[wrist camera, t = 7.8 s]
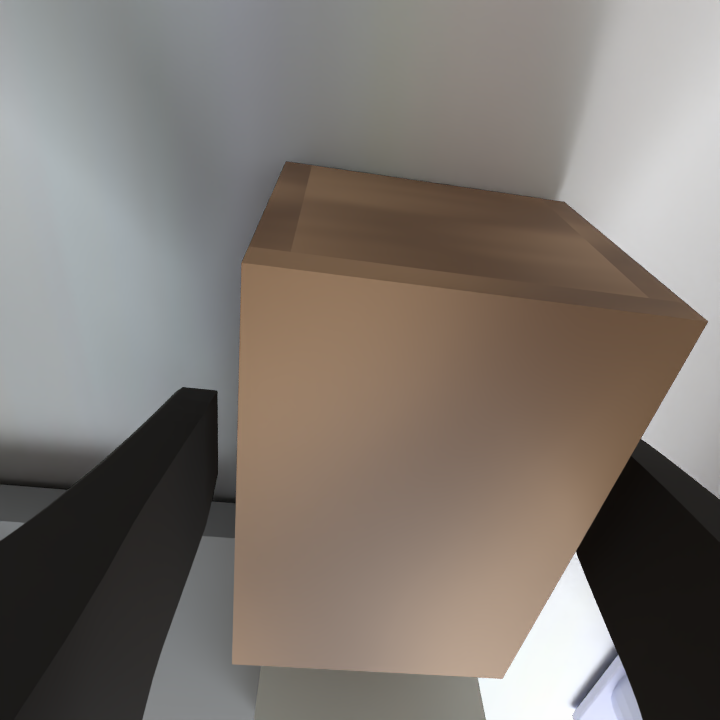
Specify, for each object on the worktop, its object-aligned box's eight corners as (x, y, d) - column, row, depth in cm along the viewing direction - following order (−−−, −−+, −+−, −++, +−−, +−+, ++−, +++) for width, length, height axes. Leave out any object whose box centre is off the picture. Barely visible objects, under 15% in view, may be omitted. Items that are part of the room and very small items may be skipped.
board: (489, 523, 16) (498, 557, 15) (412, 710, 22) (415, 743, 21) (-154, 472, 14) (-192, 506, 13) (-36, 690, 21) (-56, 724, 20)
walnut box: (564, 201, 11) (707, 321, 6) (459, 496, 15) (502, 679, 11) (285, 161, 10) (241, 262, 6) (264, 479, 15) (232, 664, 10)
